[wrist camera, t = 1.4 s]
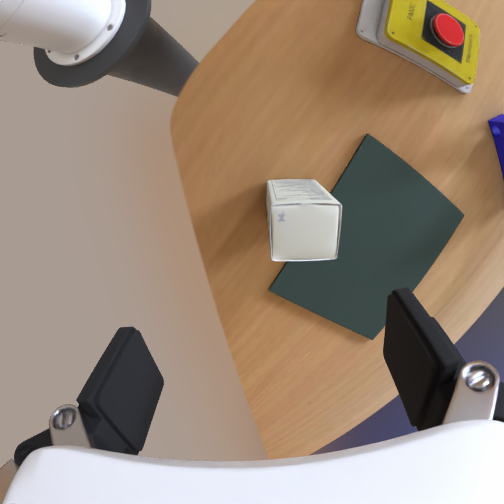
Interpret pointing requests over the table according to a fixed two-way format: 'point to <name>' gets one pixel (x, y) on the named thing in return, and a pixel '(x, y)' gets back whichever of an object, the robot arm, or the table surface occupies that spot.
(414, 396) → the robot arm
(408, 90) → the table surface
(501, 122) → the cable clip
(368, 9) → the emergency button
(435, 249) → the mat
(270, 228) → the printed medicine box
